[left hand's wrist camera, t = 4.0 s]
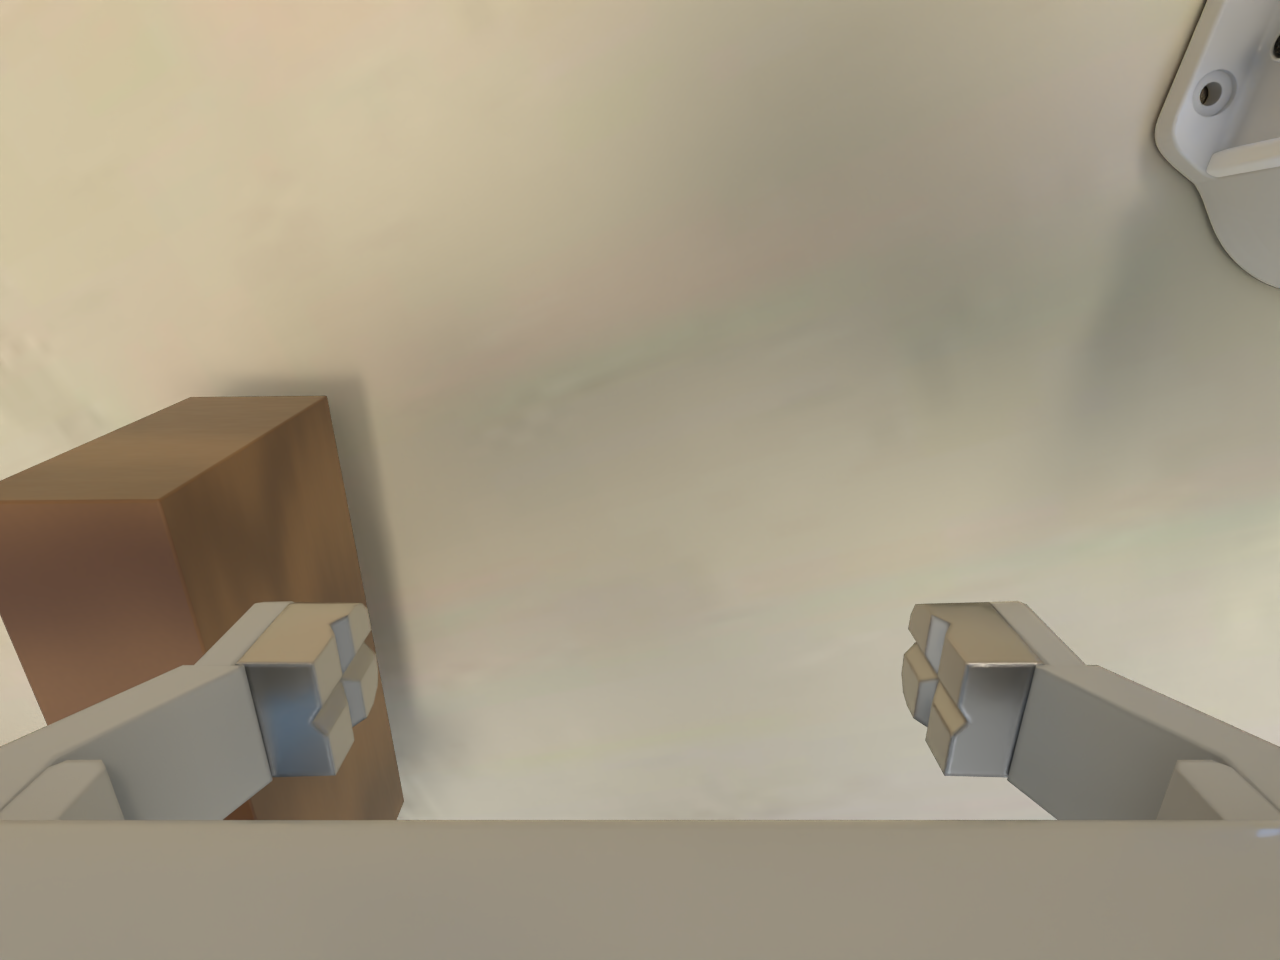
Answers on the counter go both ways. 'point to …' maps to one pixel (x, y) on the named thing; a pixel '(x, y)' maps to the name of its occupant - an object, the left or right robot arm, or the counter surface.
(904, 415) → the counter surface
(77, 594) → the box
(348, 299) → the counter surface
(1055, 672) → the left robot arm
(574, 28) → the counter surface
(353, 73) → the counter surface
